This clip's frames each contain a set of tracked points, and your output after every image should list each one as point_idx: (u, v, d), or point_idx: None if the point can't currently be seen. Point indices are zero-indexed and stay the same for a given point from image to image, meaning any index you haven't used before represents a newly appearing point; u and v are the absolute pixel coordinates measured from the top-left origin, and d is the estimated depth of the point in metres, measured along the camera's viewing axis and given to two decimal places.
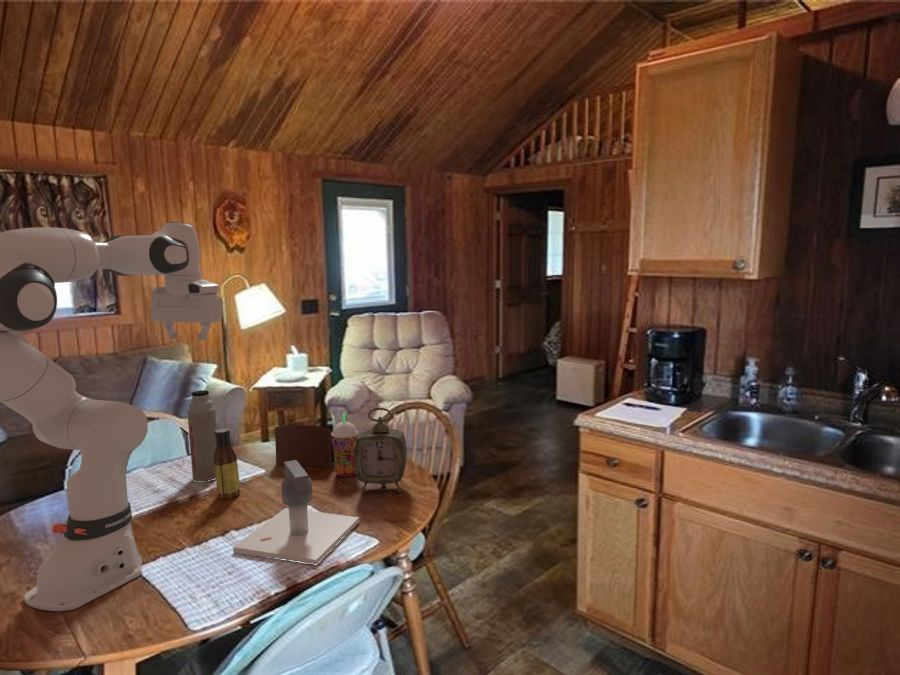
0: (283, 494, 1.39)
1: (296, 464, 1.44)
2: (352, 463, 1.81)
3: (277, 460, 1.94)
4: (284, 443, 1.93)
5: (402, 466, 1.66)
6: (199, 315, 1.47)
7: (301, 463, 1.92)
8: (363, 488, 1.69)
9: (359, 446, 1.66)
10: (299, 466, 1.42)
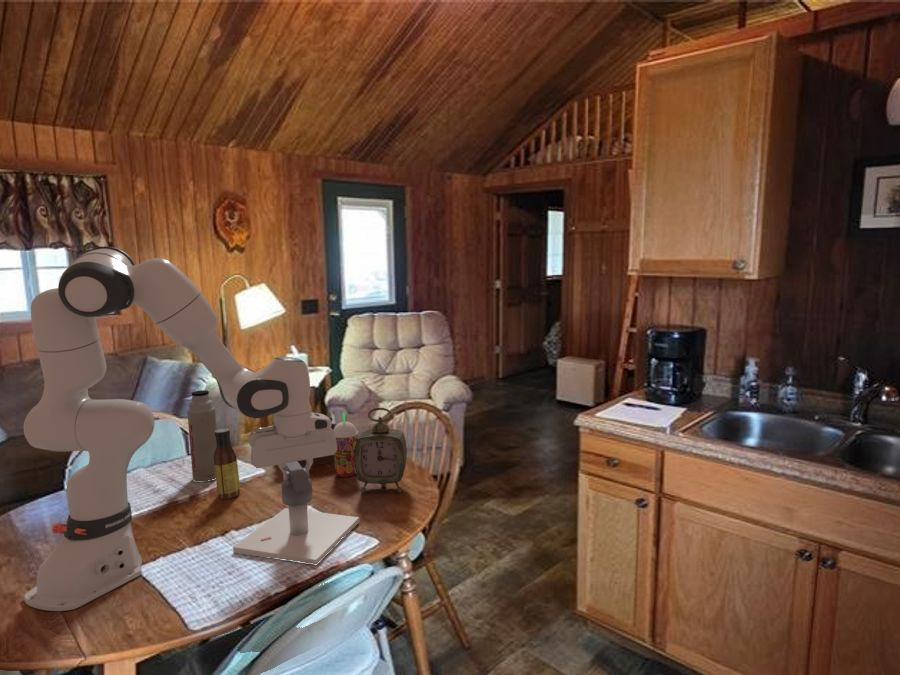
0: (283, 494, 1.39)
1: (296, 464, 1.44)
2: (352, 463, 1.81)
3: None
4: None
5: (402, 466, 1.66)
6: (320, 450, 1.41)
7: None
8: (363, 488, 1.69)
9: (359, 446, 1.66)
10: (299, 466, 1.42)
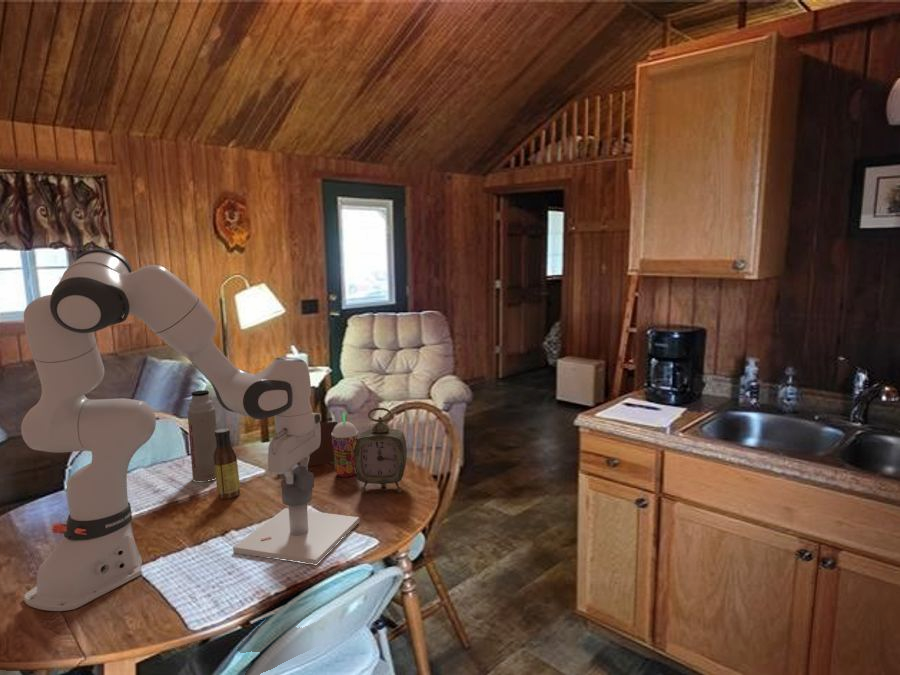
0: (285, 495, 1.39)
1: None
2: (352, 463, 1.81)
3: None
4: None
5: (402, 466, 1.66)
6: (313, 445, 1.45)
7: (313, 463, 1.92)
8: (363, 488, 1.69)
9: (359, 446, 1.66)
10: (298, 466, 1.42)
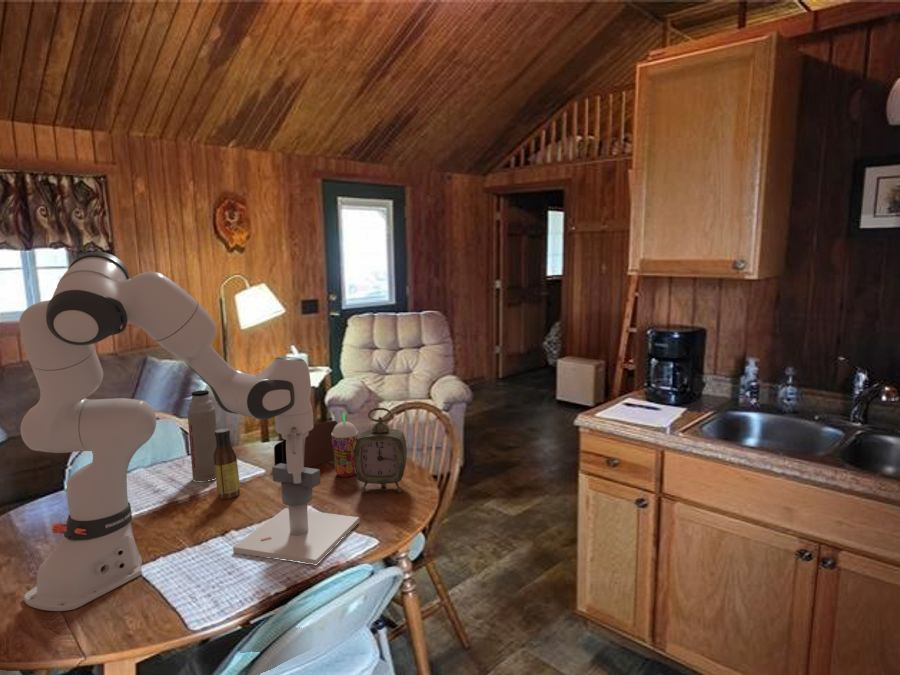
0: (290, 496, 1.38)
1: None
2: (352, 463, 1.81)
3: None
4: None
5: (402, 466, 1.66)
6: None
7: (315, 463, 1.92)
8: (363, 488, 1.69)
9: (359, 446, 1.66)
10: None
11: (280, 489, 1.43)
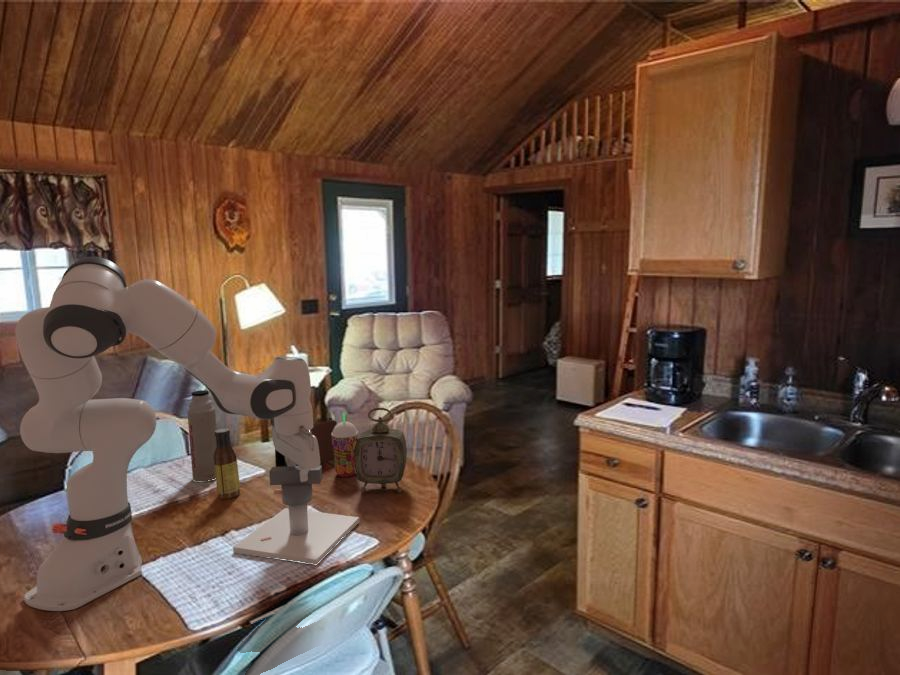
0: (297, 495, 1.38)
1: (284, 467, 1.41)
2: (352, 463, 1.81)
3: None
4: None
5: (402, 466, 1.66)
6: None
7: None
8: (363, 488, 1.69)
9: (359, 446, 1.66)
10: (293, 466, 1.42)
11: (277, 493, 1.41)
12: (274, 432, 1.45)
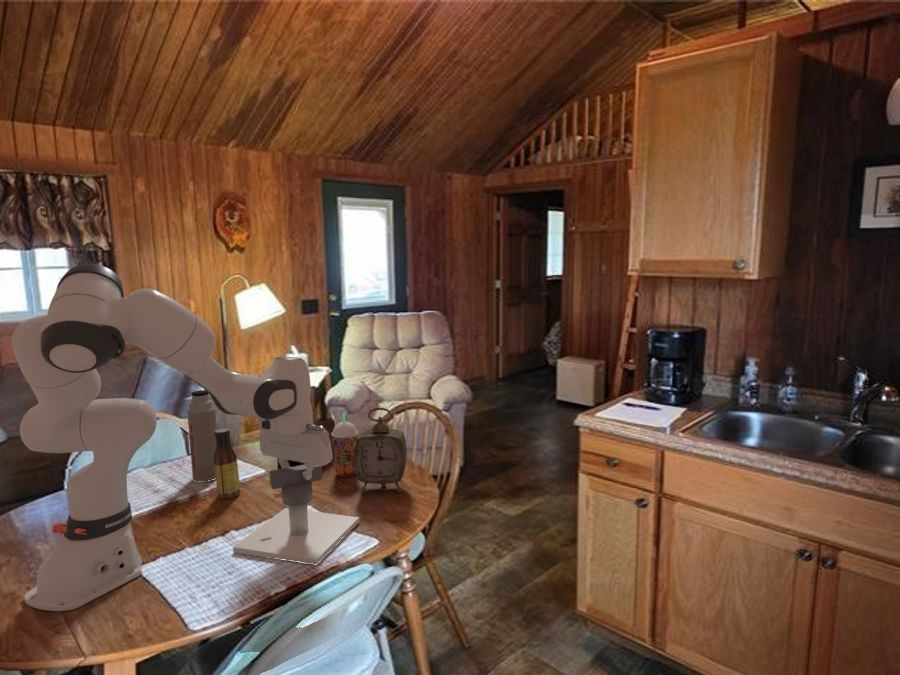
0: (304, 494, 1.39)
1: (282, 469, 1.40)
2: (352, 463, 1.81)
3: None
4: None
5: (402, 466, 1.66)
6: None
7: None
8: (363, 488, 1.69)
9: (359, 446, 1.66)
10: (291, 467, 1.41)
11: (278, 496, 1.39)
12: (264, 436, 1.42)
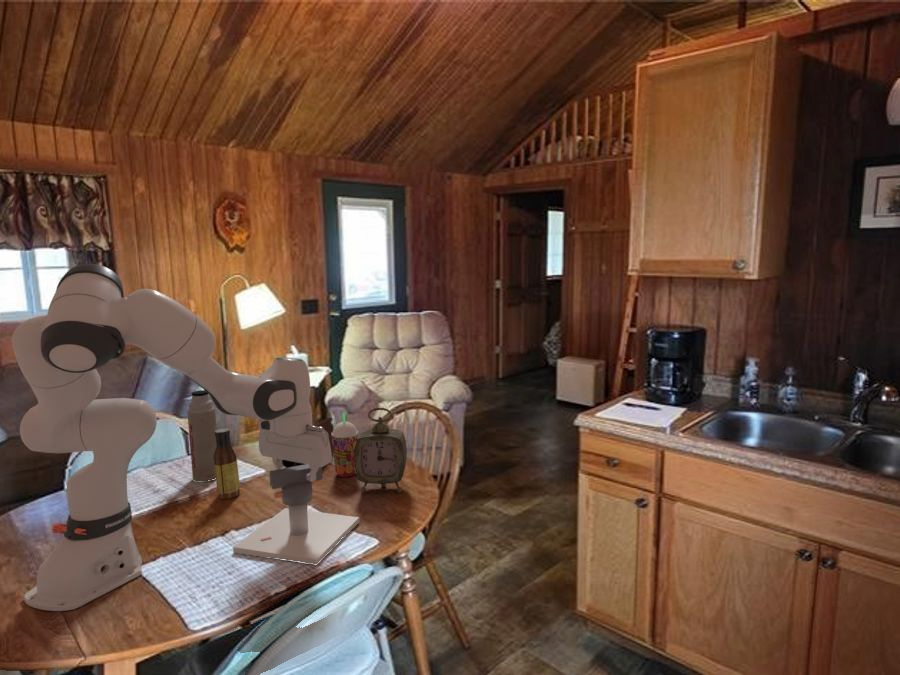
0: (304, 494, 1.39)
1: (282, 469, 1.40)
2: (352, 463, 1.81)
3: None
4: None
5: (402, 466, 1.66)
6: None
7: None
8: (363, 488, 1.69)
9: (359, 446, 1.66)
10: (291, 467, 1.41)
11: (278, 496, 1.39)
12: (263, 437, 1.41)
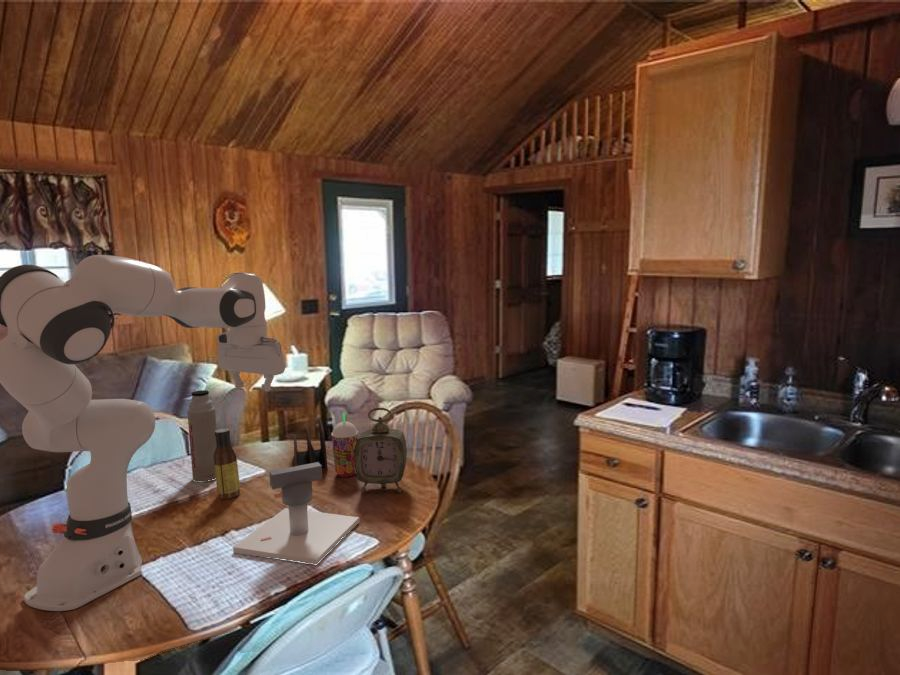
0: (304, 494, 1.39)
1: (282, 469, 1.40)
2: (352, 463, 1.81)
3: None
4: None
5: (402, 466, 1.66)
6: None
7: None
8: (363, 488, 1.69)
9: (359, 446, 1.66)
10: (291, 467, 1.41)
11: (278, 496, 1.39)
12: (221, 351, 1.50)
